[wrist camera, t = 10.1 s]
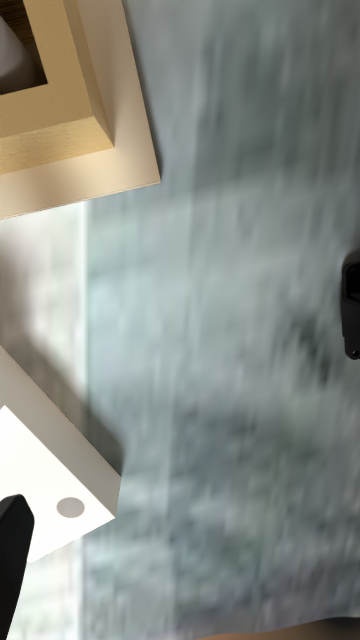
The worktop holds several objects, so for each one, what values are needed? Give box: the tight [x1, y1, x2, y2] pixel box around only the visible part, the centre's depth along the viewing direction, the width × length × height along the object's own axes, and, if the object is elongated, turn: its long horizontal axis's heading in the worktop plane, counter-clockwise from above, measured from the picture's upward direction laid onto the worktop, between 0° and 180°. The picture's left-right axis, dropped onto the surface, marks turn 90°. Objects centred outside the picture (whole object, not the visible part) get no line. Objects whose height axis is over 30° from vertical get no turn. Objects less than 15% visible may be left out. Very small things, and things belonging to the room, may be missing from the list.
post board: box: [0, 0, 161, 220], centre depth 12 cm, size 10×10×6 cm
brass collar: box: [0, 0, 114, 175], centre depth 12 cm, size 6×6×5 cm
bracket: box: [0, 346, 121, 563], centre depth 18 cm, size 13×7×8 cm, turn 32°
